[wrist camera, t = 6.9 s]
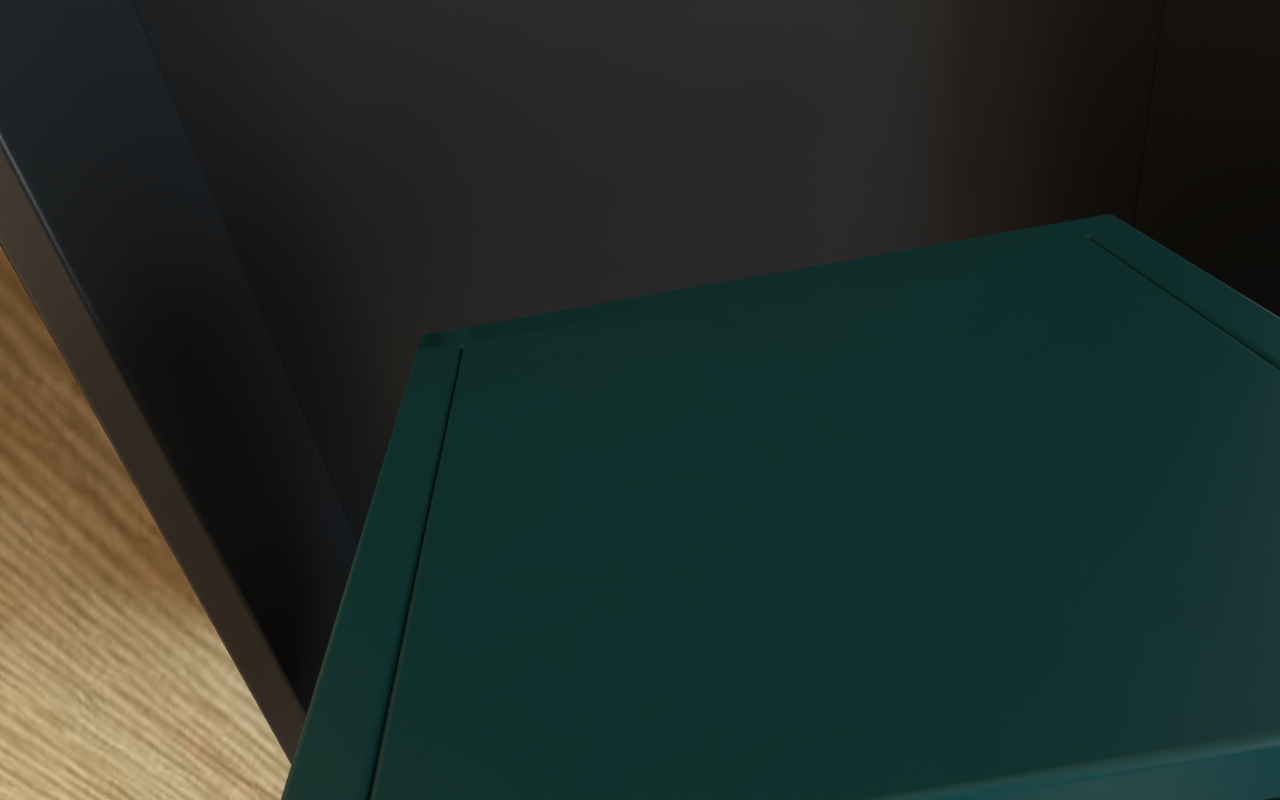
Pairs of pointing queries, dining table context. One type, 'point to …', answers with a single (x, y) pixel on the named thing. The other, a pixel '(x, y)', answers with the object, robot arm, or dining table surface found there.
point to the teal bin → (829, 542)
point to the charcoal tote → (539, 206)
